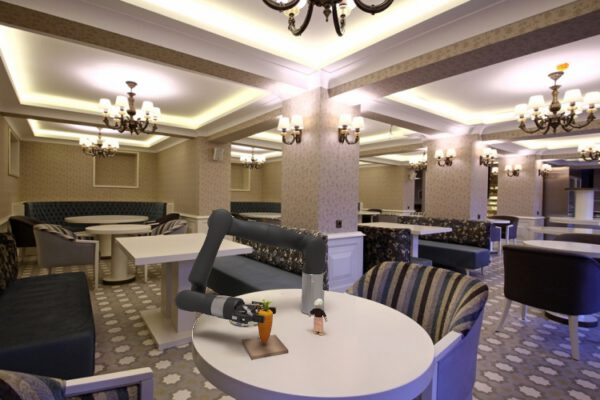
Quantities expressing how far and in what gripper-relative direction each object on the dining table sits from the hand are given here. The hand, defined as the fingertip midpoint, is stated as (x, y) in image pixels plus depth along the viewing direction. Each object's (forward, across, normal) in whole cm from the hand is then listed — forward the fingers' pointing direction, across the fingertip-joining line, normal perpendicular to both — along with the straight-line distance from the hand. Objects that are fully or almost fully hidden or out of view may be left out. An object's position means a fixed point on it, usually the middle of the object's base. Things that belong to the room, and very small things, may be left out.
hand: (270, 315), depth 102 cm
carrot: (-2, 0, +10) cm, 10 cm away
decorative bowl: (-19, +18, +12) cm, 29 cm away
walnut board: (-2, 0, +11) cm, 11 cm away
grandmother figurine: (+11, +18, +11) cm, 24 cm away
